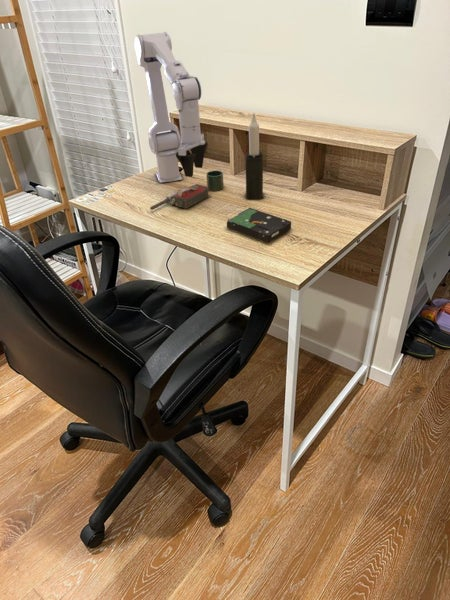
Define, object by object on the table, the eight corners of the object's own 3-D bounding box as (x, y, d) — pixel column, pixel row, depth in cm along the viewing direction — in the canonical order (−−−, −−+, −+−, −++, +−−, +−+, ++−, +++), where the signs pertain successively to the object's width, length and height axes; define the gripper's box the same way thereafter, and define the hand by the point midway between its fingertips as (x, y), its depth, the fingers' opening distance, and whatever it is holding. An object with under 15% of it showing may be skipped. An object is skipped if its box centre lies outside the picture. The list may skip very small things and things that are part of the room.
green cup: (205, 186, 151) (204, 171, 149) (221, 184, 152) (220, 169, 150) (209, 192, 147) (208, 177, 144) (225, 189, 148) (224, 175, 145)
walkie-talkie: (191, 190, 149) (148, 212, 137) (190, 177, 147) (146, 198, 134) (212, 195, 145) (169, 218, 132) (211, 182, 142) (167, 204, 130)
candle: (262, 192, 145) (263, 110, 130) (262, 199, 141) (262, 115, 126) (247, 193, 145) (245, 111, 131) (246, 199, 141) (244, 115, 127)
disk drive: (291, 230, 124) (249, 215, 132) (292, 221, 122) (249, 206, 130) (268, 245, 117) (225, 228, 126) (268, 235, 116) (225, 219, 124)
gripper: (193, 133, 122) (197, 181, 130) (212, 118, 133) (214, 164, 141) (169, 131, 124) (174, 179, 132) (190, 117, 135) (194, 162, 143)
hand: (194, 171), depth 136 cm, fingers open, 7 cm apart
